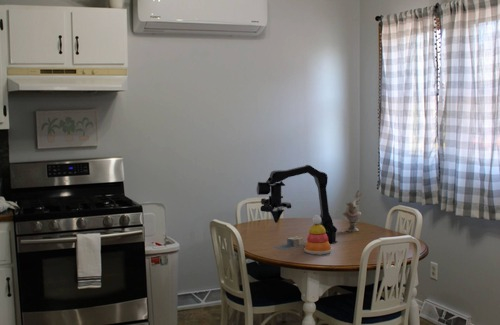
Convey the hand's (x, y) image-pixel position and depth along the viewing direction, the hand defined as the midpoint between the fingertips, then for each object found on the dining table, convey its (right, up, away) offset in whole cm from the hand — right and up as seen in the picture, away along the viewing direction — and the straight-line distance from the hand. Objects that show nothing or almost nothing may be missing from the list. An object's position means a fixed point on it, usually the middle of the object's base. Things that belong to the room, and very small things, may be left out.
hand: (276, 222), depth 298 cm
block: (+8, -11, -2) cm, 13 cm away
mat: (+8, -13, -1) cm, 15 cm away
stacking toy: (+21, -14, -15) cm, 29 cm away
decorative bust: (+48, -9, +36) cm, 61 cm away
